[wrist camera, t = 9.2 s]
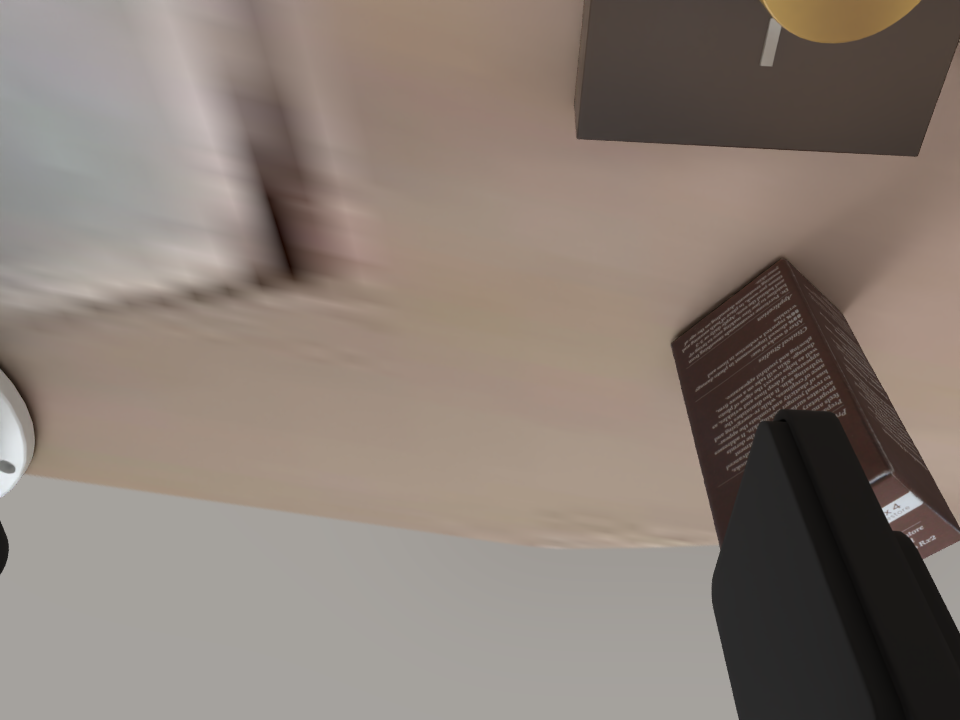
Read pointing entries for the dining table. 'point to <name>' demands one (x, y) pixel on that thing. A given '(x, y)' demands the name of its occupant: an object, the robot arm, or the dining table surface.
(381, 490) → the dining table surface
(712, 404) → the box
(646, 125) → the lock plate
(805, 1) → the lock knob
